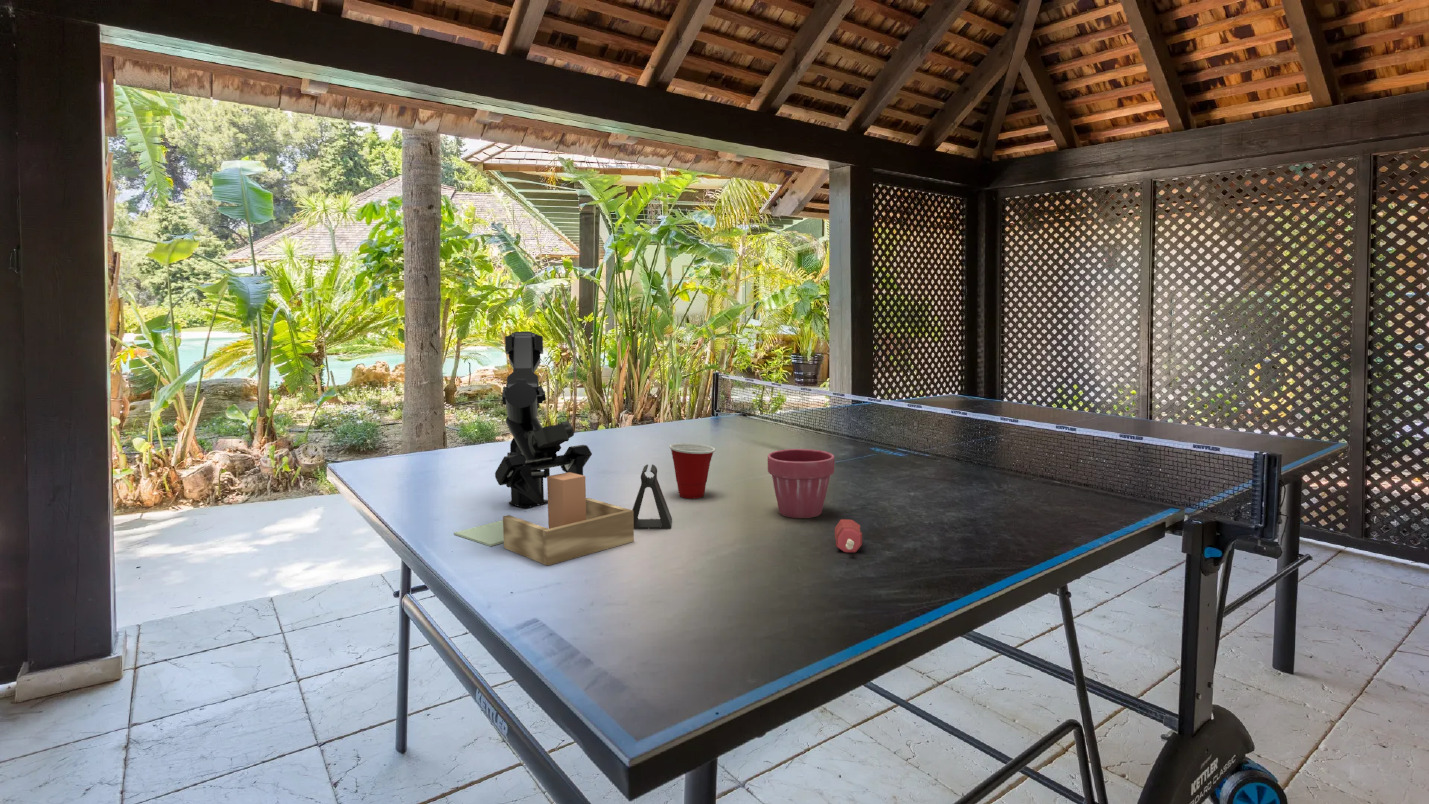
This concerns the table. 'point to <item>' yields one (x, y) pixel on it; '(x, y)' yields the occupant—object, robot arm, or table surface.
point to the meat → (848, 536)
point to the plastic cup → (691, 468)
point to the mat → (485, 534)
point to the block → (566, 499)
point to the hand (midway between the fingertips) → (563, 499)
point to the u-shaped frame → (571, 534)
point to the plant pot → (800, 480)
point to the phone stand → (660, 501)
